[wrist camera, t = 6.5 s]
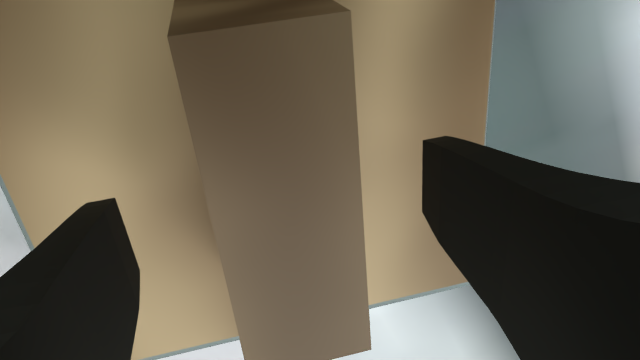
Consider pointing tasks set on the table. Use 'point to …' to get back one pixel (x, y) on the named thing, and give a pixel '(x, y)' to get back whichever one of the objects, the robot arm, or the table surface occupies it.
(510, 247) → the robot arm
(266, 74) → the oak lid
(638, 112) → the table surface
